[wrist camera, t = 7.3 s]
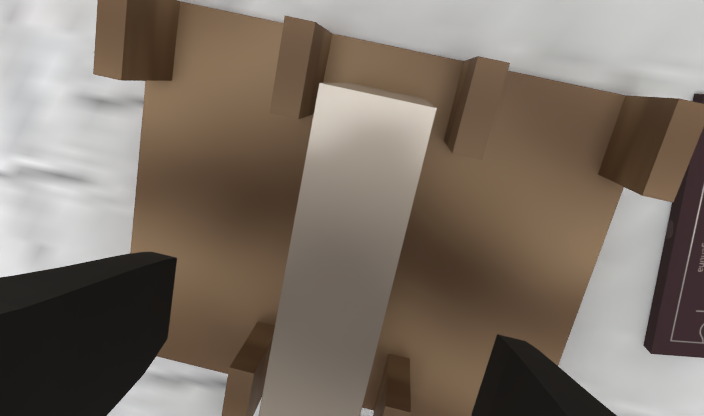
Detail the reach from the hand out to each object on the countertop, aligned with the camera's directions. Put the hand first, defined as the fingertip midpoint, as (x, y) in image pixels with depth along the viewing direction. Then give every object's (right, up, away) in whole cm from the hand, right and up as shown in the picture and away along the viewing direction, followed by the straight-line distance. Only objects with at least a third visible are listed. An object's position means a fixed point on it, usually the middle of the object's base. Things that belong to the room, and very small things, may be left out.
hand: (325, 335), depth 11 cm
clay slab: (+1, +2, +6) cm, 7 cm away
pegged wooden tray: (+1, +2, +7) cm, 8 cm away
